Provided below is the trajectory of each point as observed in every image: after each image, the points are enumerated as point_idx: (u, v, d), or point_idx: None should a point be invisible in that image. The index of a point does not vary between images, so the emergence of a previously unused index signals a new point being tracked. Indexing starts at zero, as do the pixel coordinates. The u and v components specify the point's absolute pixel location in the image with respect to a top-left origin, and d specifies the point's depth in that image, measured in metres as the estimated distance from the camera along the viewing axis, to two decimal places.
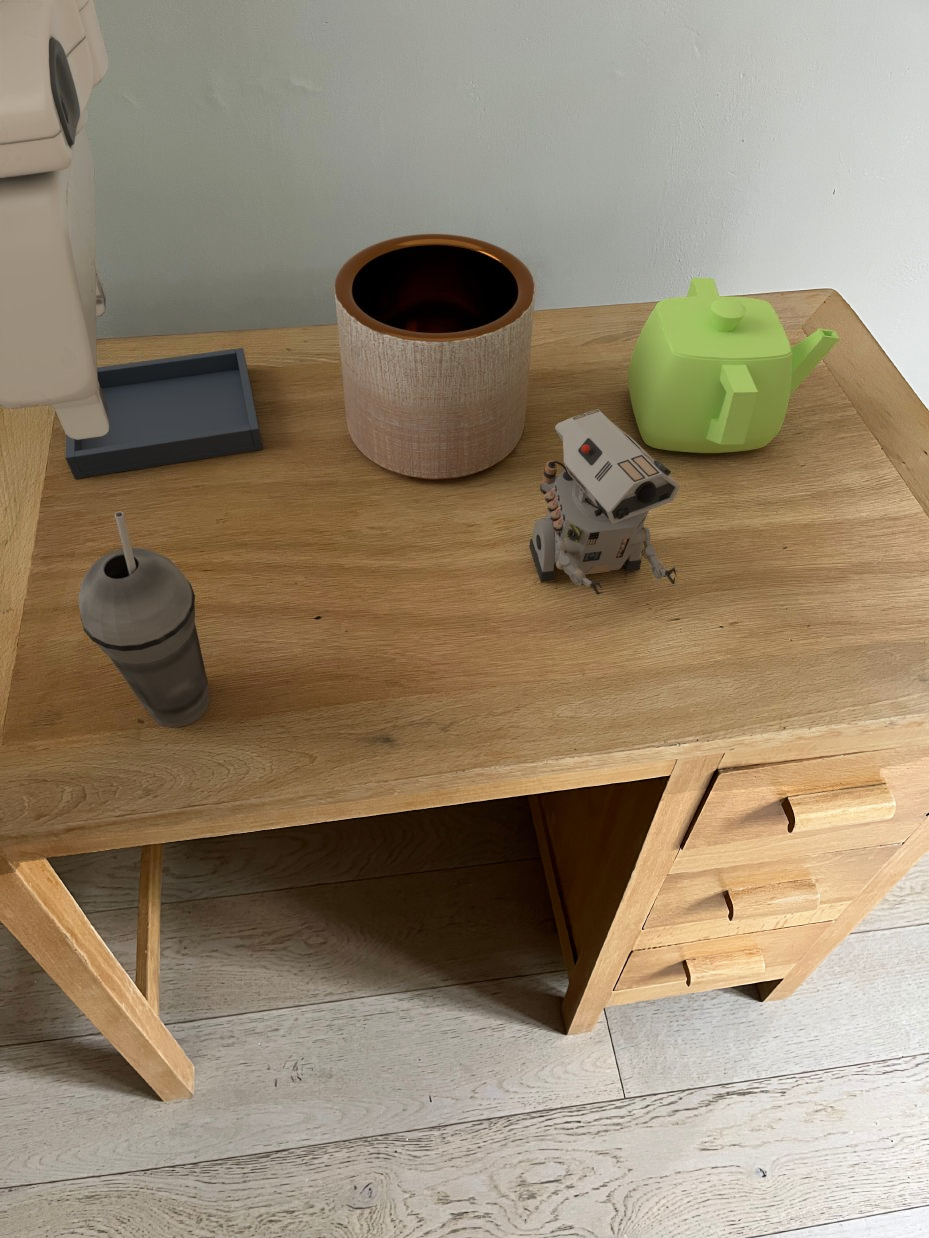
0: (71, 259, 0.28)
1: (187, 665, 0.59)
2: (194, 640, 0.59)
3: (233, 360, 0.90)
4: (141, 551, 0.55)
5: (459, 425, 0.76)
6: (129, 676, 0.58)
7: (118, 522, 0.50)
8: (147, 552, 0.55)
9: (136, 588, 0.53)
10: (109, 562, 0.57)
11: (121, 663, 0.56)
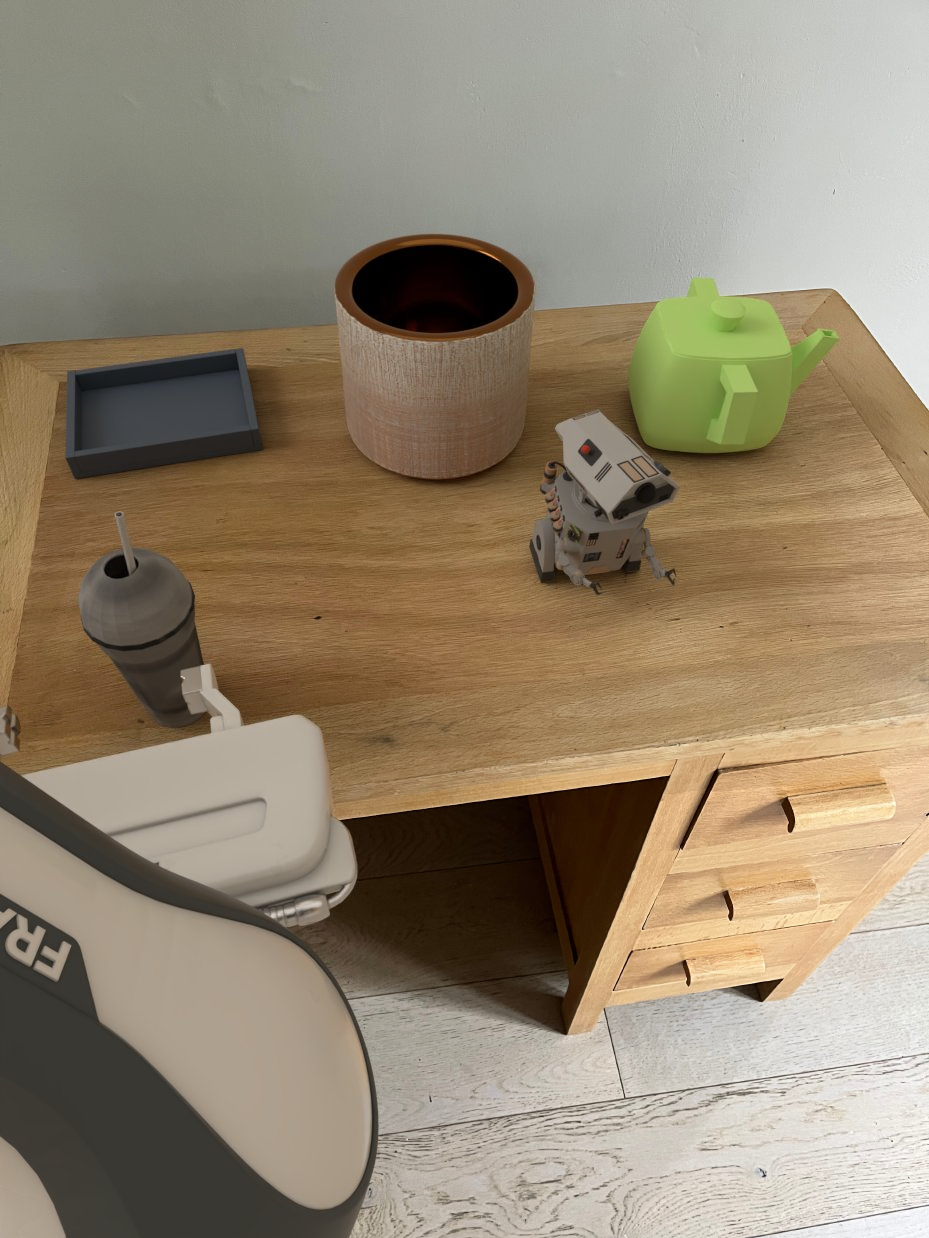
0: None
1: (187, 665, 0.59)
2: (194, 640, 0.59)
3: (233, 360, 0.90)
4: (141, 551, 0.55)
5: (459, 425, 0.76)
6: (129, 676, 0.58)
7: (118, 522, 0.50)
8: (147, 552, 0.55)
9: (136, 588, 0.53)
10: (109, 562, 0.57)
11: (121, 663, 0.56)
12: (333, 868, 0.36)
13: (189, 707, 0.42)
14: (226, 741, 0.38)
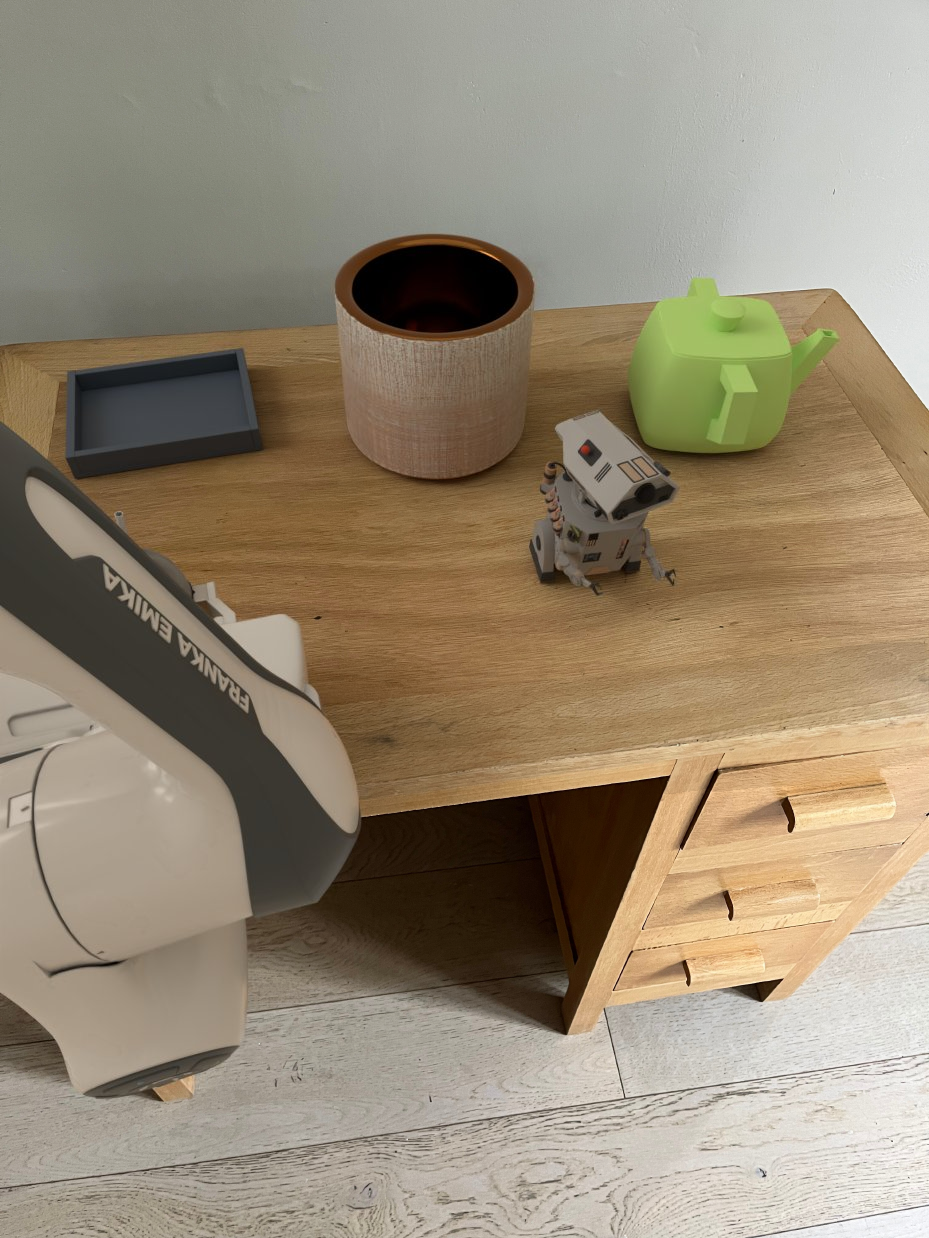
0: None
1: None
2: None
3: (233, 360, 0.90)
4: None
5: (459, 425, 0.76)
6: None
7: (118, 522, 0.50)
8: (147, 552, 0.55)
9: None
10: None
11: None
12: None
13: None
14: (231, 630, 0.54)
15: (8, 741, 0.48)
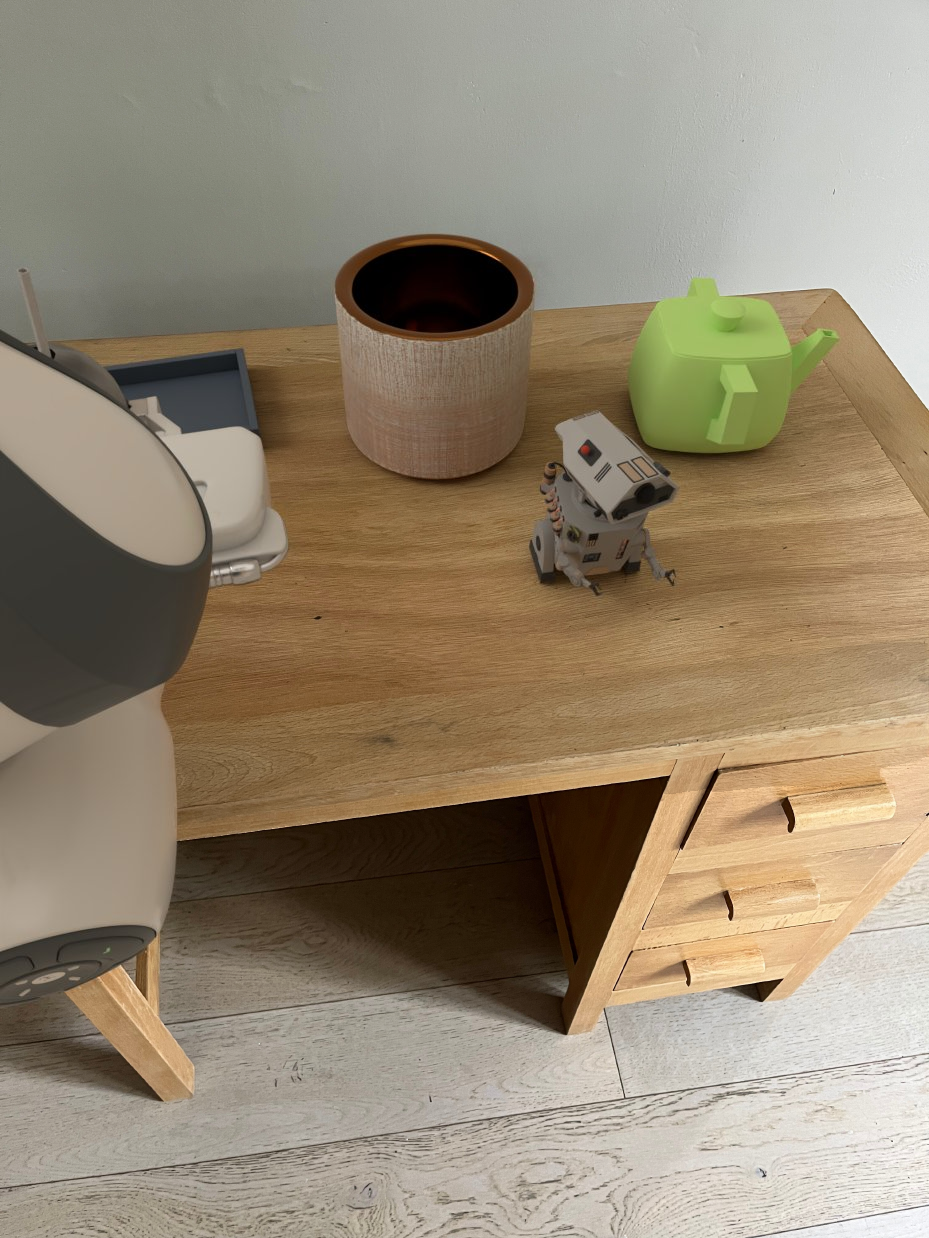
0: None
1: None
2: None
3: (233, 360, 0.90)
4: (61, 345, 0.43)
5: (459, 425, 0.76)
6: None
7: (22, 282, 0.38)
8: (69, 347, 0.43)
9: None
10: None
11: None
12: (266, 541, 0.40)
13: None
14: (173, 442, 0.42)
15: None
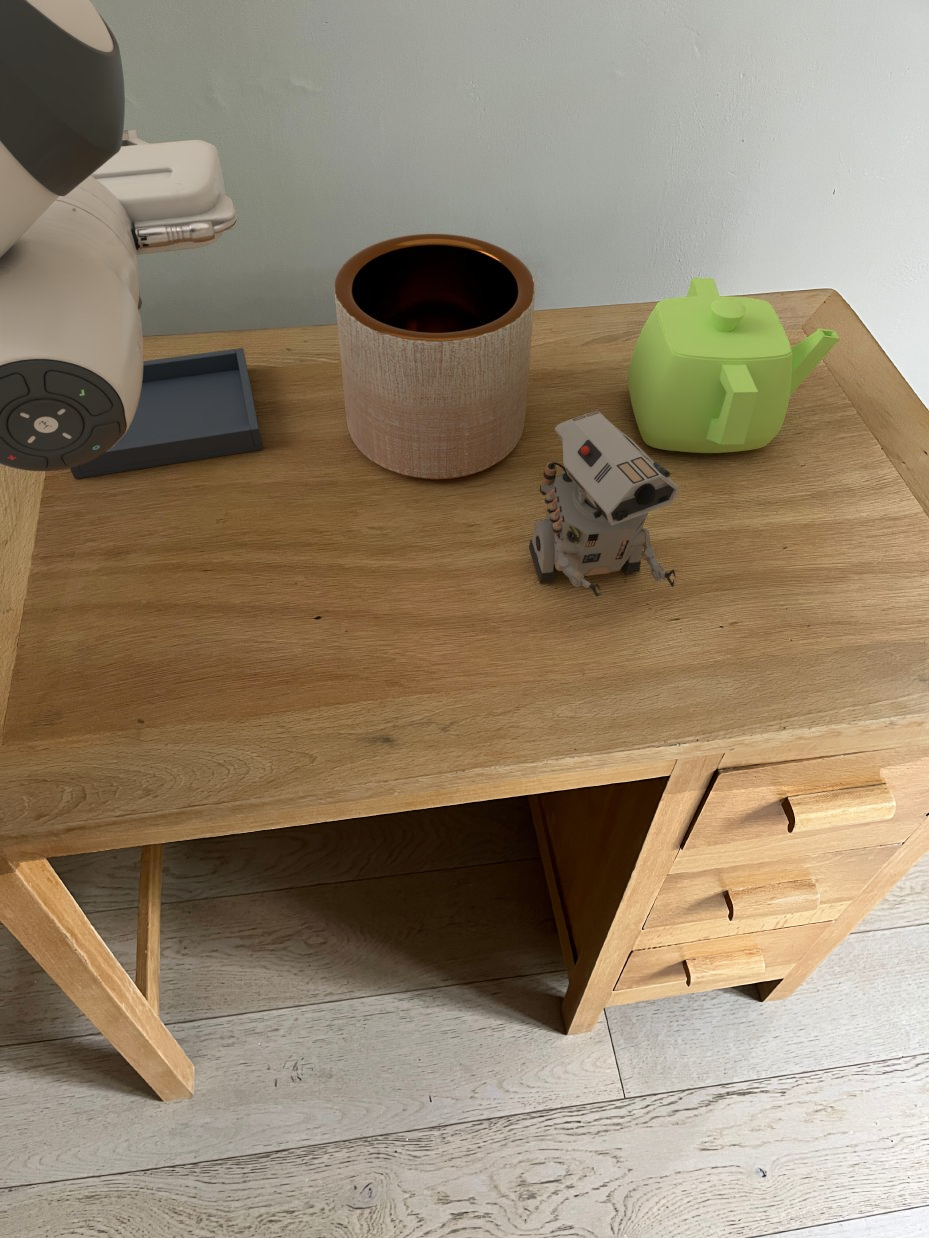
0: None
1: None
2: None
3: (233, 360, 0.90)
4: None
5: (459, 425, 0.76)
6: None
7: None
8: None
9: None
10: None
11: None
12: (218, 212, 0.51)
13: None
14: (147, 146, 0.53)
15: None
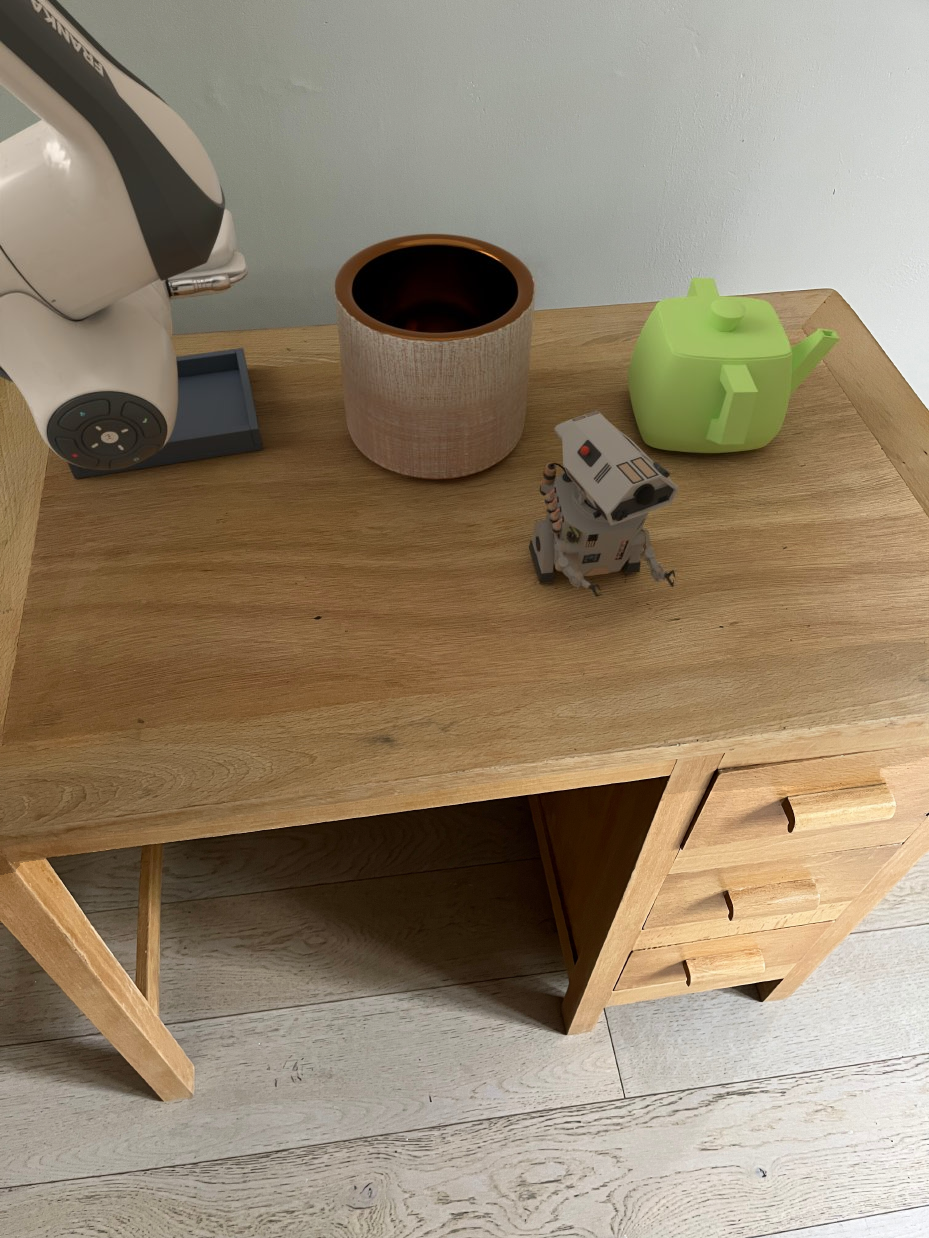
0: None
1: None
2: None
3: (233, 360, 0.90)
4: None
5: (459, 425, 0.76)
6: None
7: None
8: None
9: None
10: None
11: None
12: (233, 266, 0.65)
13: None
14: None
15: None
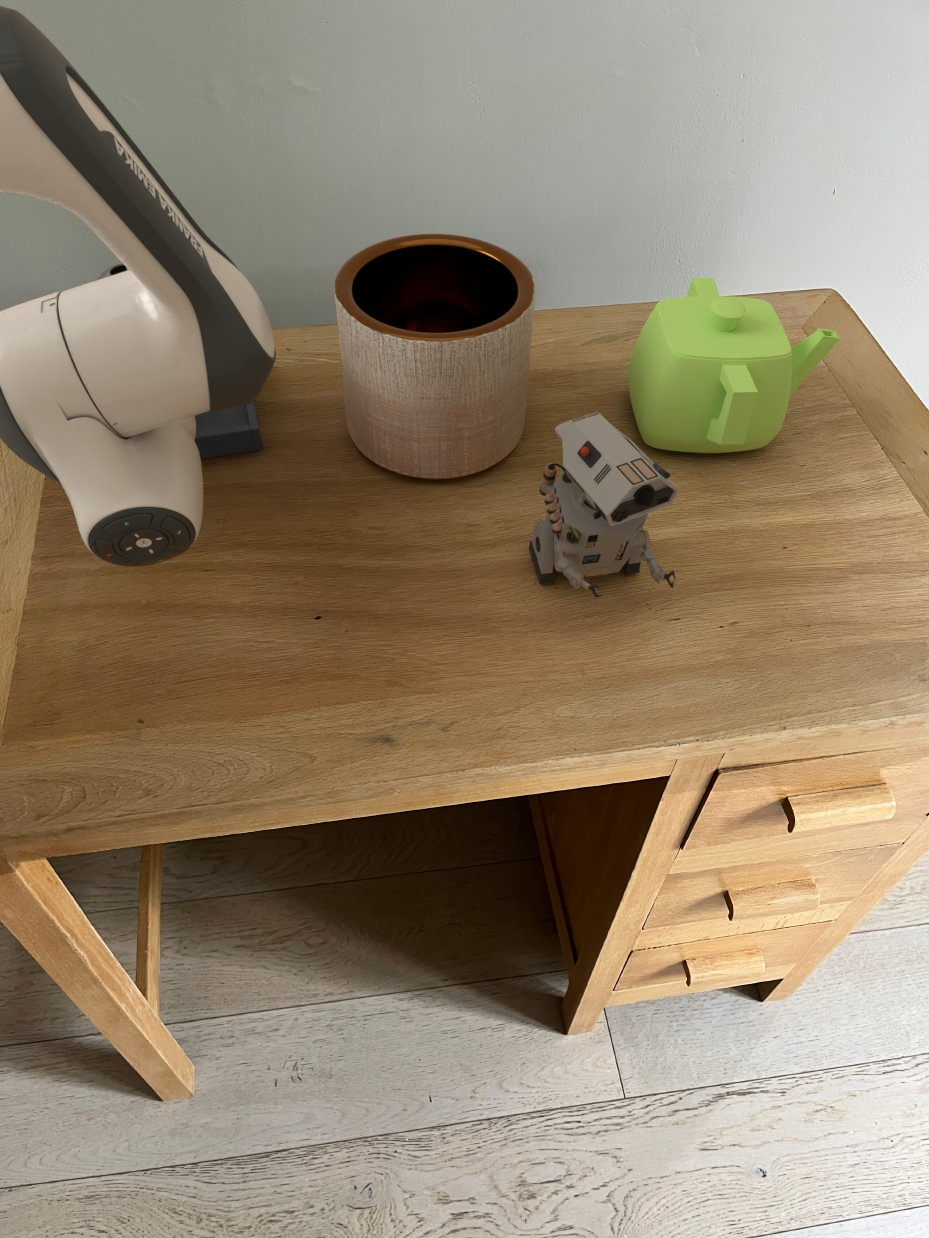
0: None
1: None
2: None
3: None
4: None
5: (459, 425, 0.76)
6: None
7: None
8: None
9: None
10: None
11: None
12: None
13: None
14: None
15: None
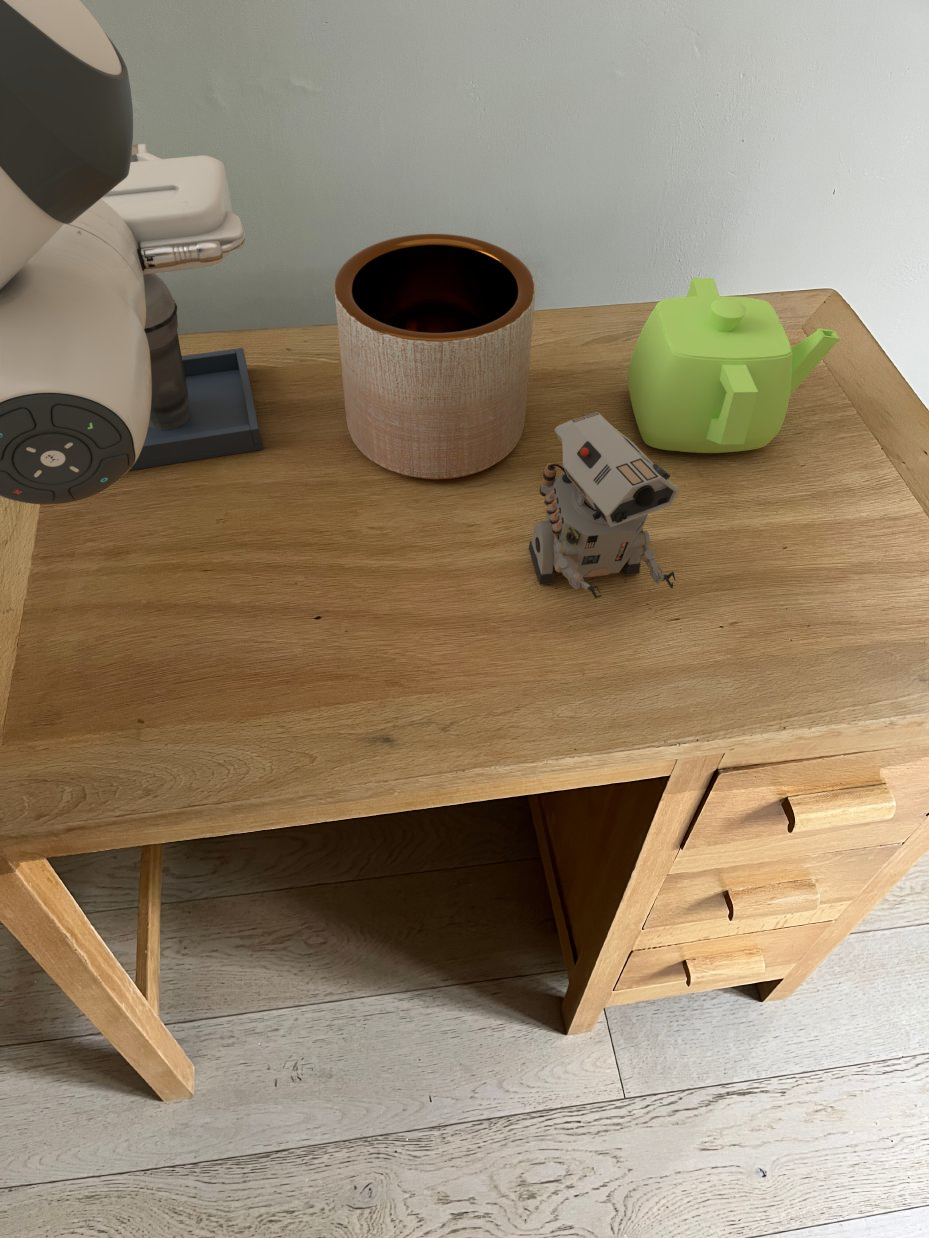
0: None
1: (172, 365, 0.79)
2: (177, 346, 0.79)
3: (233, 360, 0.90)
4: None
5: (459, 425, 0.76)
6: None
7: None
8: None
9: None
10: None
11: None
12: (226, 231, 0.50)
13: None
14: (152, 163, 0.52)
15: None
